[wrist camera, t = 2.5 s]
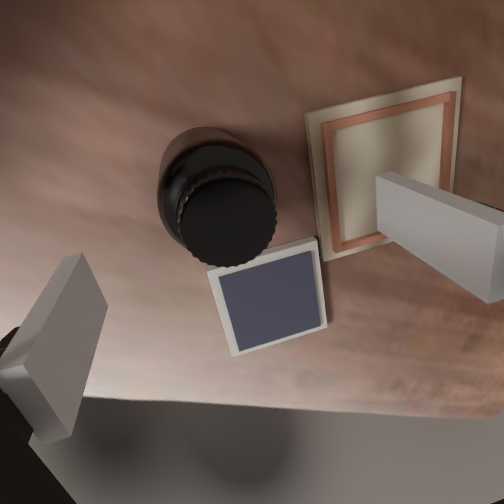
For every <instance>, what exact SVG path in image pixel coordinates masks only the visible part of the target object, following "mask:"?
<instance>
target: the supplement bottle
mask: <svg viewBox="0 0 504 504" xmlns="http://www.w3.org/2000/svg"><path fill="white" fill-rule="evenodd" d="M276 201H277V193H276V185H275V181H274V178H273V176H272V173H271V171H270V169H269V168H268V166H267V164H266V163H265V162H264V160H263V159H262V158H261V157H260V156H259V155H258V154H257V153H256V152H255V151H253V150H252V149H251V148H249V147H248V146H246V145H245V144H243V143H242V142H240V141H239V140H237V139H236V138H234V137H233V136H231V135H230V134H228V133H226V132H224V131H222V130H219V129H216V128H212V127H197V128H193V129H190V130H187V131H185V132H183V133H181V134H180V135H178V136H177V137H176V138H175V139H173V140H172V142H171V143H170V144H169V145H168V147H167V148H166V150H165V152H164V154H163V157H162V160H161V164H160V172H159V181H158V190H157V204H158V210H159V214H160V218H161V220H162V222H163V225H164V226H165V228H166V230H167V231H168V233H169V234H170V235H171V236H172V237H173V239H174V240H176V241H177V242H178V243H179V244H180V245H181V246H183V247H185V248H186V249H187V250H188V251H190V252H191V253H192V255H193V257H196V258H198V259H199V260H200V261H201V262H205V263H207V264H208V265H215V266H216V267H226V268H229V267H231V266H234V267H237V266H239V265H241V264H246V263H247V262H248V261H251V260H254V259H255V258H256V256H258V255H260V254H261V253H262V251H263V250H264V249H266V248H267V246H268V243H269V242H270V241H271V240H272V236H273V234H274V233H275V226H276V224H277V220H276V216H277V212H276V210H275V209H276Z"/></svg>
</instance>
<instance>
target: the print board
mask: <svg viewBox="0 0 504 504" xmlns="http://www.w3.org/2000/svg"><path fill="white" fill-rule="evenodd" d="M461 84H462V77H451V78H447V79H443V80H439V81H435V82H431V83H426V84H422V85H418V86H414V87H410V88H405V89H401V90H397V91H393V92H389V93H385V94H380V95H376V96H372V97H368V98H364V99H359V100H355V101H351V102H347V103H343V104H338V105H334V106H330V107H326V108H322V109H318V110H313V111H309V112H305V113H304V117H305V126H306V134H307V143H308V152H309V160H310V169H311V178H312V186H313V195H314V204H315V212H316V221H317V230H318V238H319V247H320V256H321V259H322V260H323V261H324V262H326V261H329V260H333V259H336V258H339V257H343V256H346V255H350V254H353V253H356V252H360V251H363V250H367V249H370V248H374V247H377V246H380V245H384V244H387V243H391V242H394V241H393V240H391V239H390V238H388V237H387V236H385V235H384V234H382V233H381V232H379V231H378V230H377V206H376V177H375V175H379V174H382V173H386V172H390V171H392V172H394V173H397V174H400V175H403V176H405V177H408V178H411V179H414V180H416V181H419V182H422V183H425V184H427V185H430V186H433V187H436V188H438V189H441V190H444V191H447V192H449V193H452V194H453V184H454V172H455V159H456V147H457V134H458V122H459V109H460V97H461Z"/></svg>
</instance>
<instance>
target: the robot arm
mask: <svg viewBox="0 0 504 504" xmlns="http://www.w3.org/2000/svg"><path fill="white" fill-rule="evenodd" d="M375 177H376V206H377V230H378V231H379V232H381V233H382V234H384V235H385V236H387V237H388V238H390V239H391V240H393V241H394V242H396V243H397V244H399V245H400V246H402V247H403V248H405V249H406V250H408V251H409V252H411V253H412V254H414V255H415V256H417V257H418V258H420V259H421V260H423V261H424V262H426V263H427V264H429V265H430V266H431V267H433V268H434V269H436V270H437V271H439V272H440V273H442V274H443V275H445V276H446V277H448V278H449V279H451V280H452V281H454V282H455V283H457V284H458V285H460V286H461V287H463V288H464V289H466V290H467V291H469V292H470V293H472V294H473V295H475V296H476V297H478V298H479V299H481V300H482V301H484V302H485V303H487V304H490V303H493V302H496V301H499V300H502V299H504V211H503V210H500V209H498V208H494V207H492V206H489V205H487V204H484V203H480V202H474V201H471V200H469V199H466V198H463V197H460V196H458V195H455V194H452V193H449V192H447V191H444V190H441V189H438V188H436V187H433V186H430V185H427V184H425V183H422V182H419V181H416V180H414V179H411V178H408V177H405V176H403V175H400V174H397V173H394V172H392V171H390V172H386V173H382V174H379V175H375ZM107 308H108V305H107V303H106V300H105V298H104V296H103V294H102V292H101V290H100V288H99V286H98V284H97V281H96V279H95V277H94V275H93V273H92V271H91V269H90V267H89V264H88V262H87V260H86V258H85V256H84V254H83V252H82V253H79V254H75V255H71V256H67V257H64V258H63V260H62V261H61V263H60V264H59V266H58V268H57V269H56V271H55V272H54V274H53V276H52V277H51V279H50V280H49V282H48V283H47V285H46V287H45V288H44V290H43V291H42V293H41V294H40V296H39V298H38V299H37V301H36V302H35V304H34V306H33V307H32V309H31V310H30V312H29V313H28V315H27V317H26V318H25V320H24V321H23V323H22V325H21V326H19V327H16V328H14V329H13V330H12V331H11V332H9V333H8V334H7V335H6V336H5V337H4V338H3V339H2V340H1V341H0V504H76V502H75V501H74V500H73V499H72V498H71V496H70V495H69V494H68V493H67V492H66V490H65V489H64V488H63V486H62V485H61V484H60V483H59V481H58V480H57V479H56V478H55V477H54V475H53V474H52V473H51V472H50V470H49V469H48V468H47V467H46V465H45V464H44V463H43V462H42V460H41V459H40V458H39V457H38V456H37V454H36V453H35V452H34V451H33V449H32V448H31V447H30V446H29V444H28V442H29V440H30V437H31V435H32V432H34V434H35V435H36V436H37V438H38V439H39V440H40V442H41V443H42V444H43V445H45V444H48V443H51V442H54V441H57V440H61V439H63V438H67V437H70V436H71V434H72V431H73V427H74V424H75V420H76V417H77V413H78V410H79V406H80V402H81V399H82V396H83V392H84V389H85V385H86V382H87V378H88V375H89V371H90V368H91V364H92V361H93V357H94V354H95V350H96V347H97V343H98V340H99V336H100V333H101V329H102V326H103V322H104V318H105V315H106V311H107ZM492 504H504V499H502V500H499V501H497V502H494V503H492Z"/></svg>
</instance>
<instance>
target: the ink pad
mask: <svg viewBox="0 0 504 504" xmlns="http://www.w3.org/2000/svg"><path fill="white" fill-rule="evenodd" d="M206 270H207V274H208V277H209V281H210V284H211V287H212V291H213V294H214V297H215V301H216V304H217V308H218V311H219V314H220V318H221V321H222V324H223V328H224V331H225V334H226V338H227V341H228V345H229V348H230V351H231V355H232V357H235V356H239V355H242V354H245V353H248V352H251V351H254V350H258V349H261V348H264V347H267V346H270V345H273V344H277V343H280V342H283V341H286V340H289V339H292V338H296V337H299V336H302V335H305V334H308V333H311V332H315V331H318V330H321V329H324V328H327V319H326V311H325V303H324V294H323V286H322V277H321V269H320V260H319V252H318V243H317V240H316V239H315V238H314V237H313V236H311V237H307V238H304V239H300V240H297V241H293V242H290V243H286V244H283V245H279V246H275V247H272V248H268V249H265V250H263V251H262V253H261V254H260V255H258V256H256V258H255V259H254V260H251V261H248V262H247V263H246V264H241V265H239V266H237V267H234V266H231V267H229V268H226V267H216V266H215V265H208V266H206Z"/></svg>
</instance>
